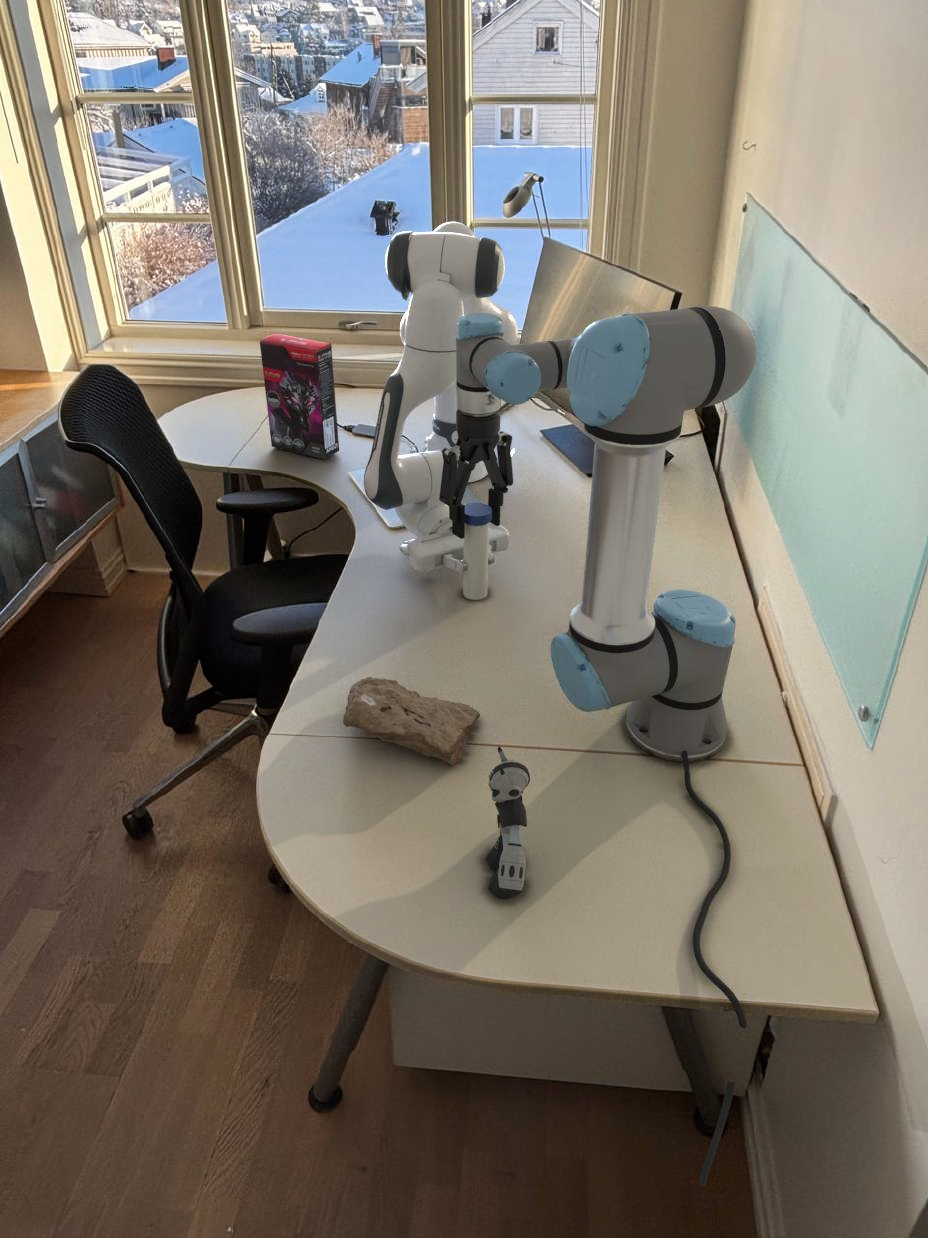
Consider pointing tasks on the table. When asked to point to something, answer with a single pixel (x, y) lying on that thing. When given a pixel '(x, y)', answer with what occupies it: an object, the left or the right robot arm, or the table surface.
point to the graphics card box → (300, 395)
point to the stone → (410, 718)
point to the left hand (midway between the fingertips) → (478, 564)
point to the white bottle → (476, 561)
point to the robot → (508, 827)
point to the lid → (477, 514)
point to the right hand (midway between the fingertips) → (476, 529)
